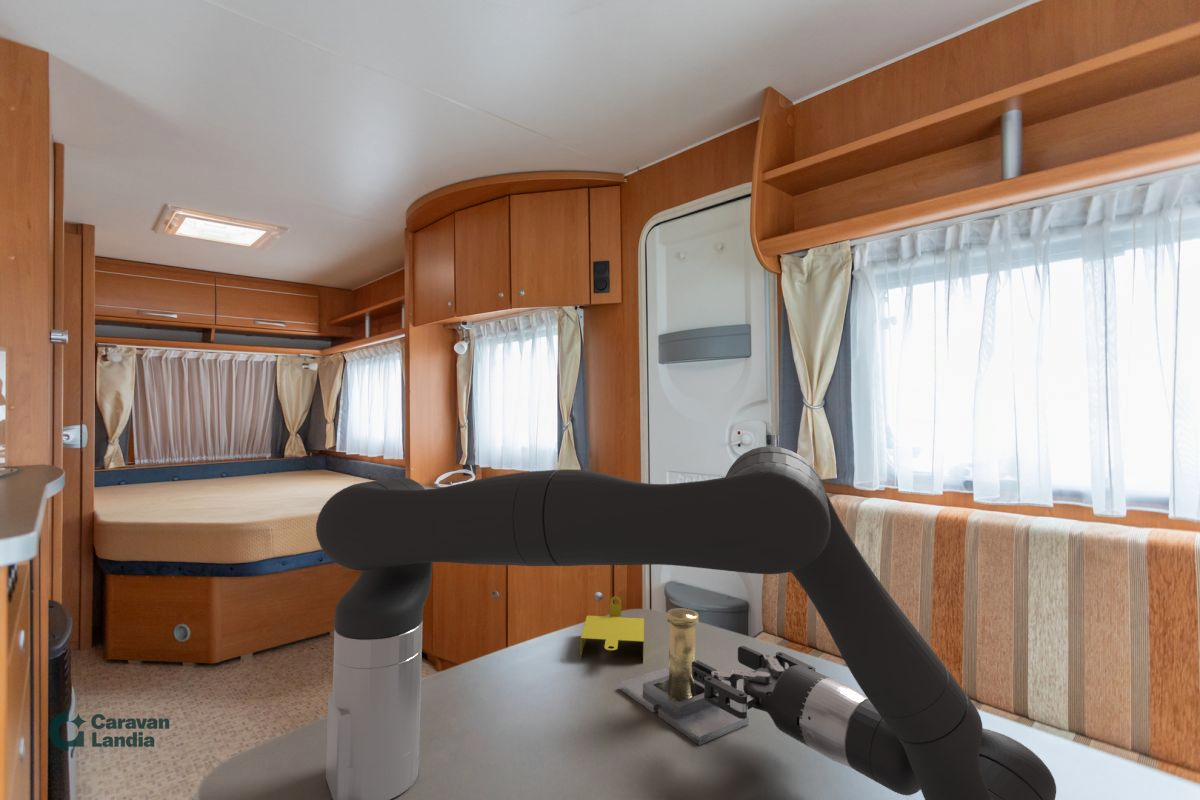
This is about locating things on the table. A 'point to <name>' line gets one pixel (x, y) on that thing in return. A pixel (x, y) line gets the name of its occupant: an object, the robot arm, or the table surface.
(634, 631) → the bracket
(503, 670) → the table surface
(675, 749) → the table surface
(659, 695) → the grey socket base plate
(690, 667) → the hinge pin
